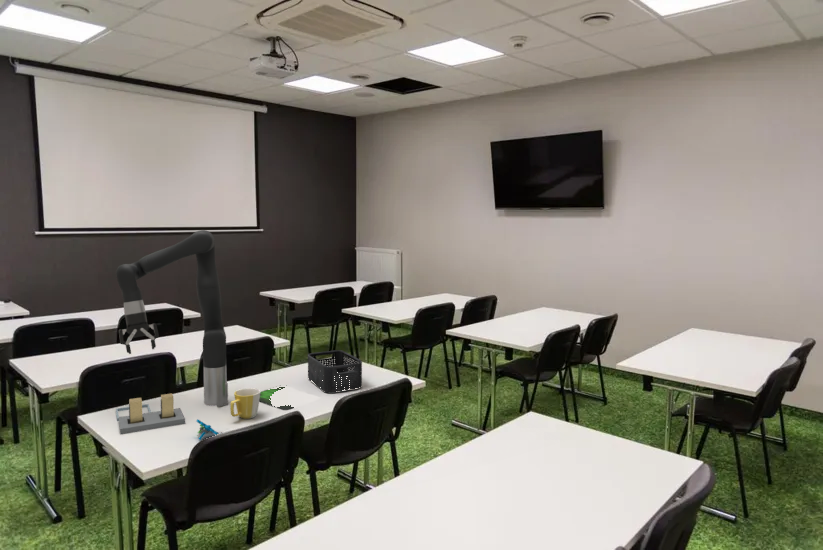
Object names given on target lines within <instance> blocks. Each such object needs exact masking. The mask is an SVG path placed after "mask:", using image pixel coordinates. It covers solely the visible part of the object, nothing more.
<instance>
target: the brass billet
mask: <svg viewBox="0 0 823 550" xmlns="http://www.w3.org/2000/svg"><path fill="white" fill-rule="evenodd" d="M128 402H129V403H128V407H129V410H128V416H129V420H130V424H133V423H139V422H143V420H142V414H143V408H142V405H143V400H142V397H136V398H135V397H134V398H129V400H128Z"/></svg>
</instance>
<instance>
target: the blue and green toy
mask: <svg viewBox="0 0 823 550" xmlns="http://www.w3.org/2000/svg"><path fill="white" fill-rule="evenodd" d="M196 422H197V423H198V424H199V430H198V432H197V435H196V436H199V434H200V433H201V432H202V433H201V434H200V436H199V437H198V438H197V440H199V441H201V440H202V439H203V438H204V436H205V435H206V434H208V433H209V432H211V433H213V435H216V436H217V434H220V433H219V432H218V431H216V430H215V429H213V428H212V425H210V424H206V423H205V422H203V421H201V420H200V419H196Z"/></svg>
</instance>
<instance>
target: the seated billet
mask: <svg viewBox="0 0 823 550" xmlns="http://www.w3.org/2000/svg"><path fill="white" fill-rule="evenodd" d="M174 407H175V406H174V395H173V393H167V394H166V393H164V394H160V411H161V419H164V418H171V417H174V409H175V408H174Z"/></svg>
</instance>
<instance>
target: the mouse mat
mask: <svg viewBox="0 0 823 550" xmlns="http://www.w3.org/2000/svg"><path fill="white" fill-rule="evenodd" d="M279 388H281V389H283V388H285V387H279ZM279 388H277V389H271V388H269V389H270V390H268V389H264V390H262V391H261V390H260V391H261V392H260V399H259V403H261V404H264V405H267V406H270V405H271V406H270V407H273V406H272V404H271V401H270V400H271V398H270V396H272V394H274V392H276V391H278V390H281V389H279ZM269 399H270V400H269ZM273 408H276V407H275V406H274V407H273ZM276 409H279V410H282V411H291V410H293V409H295V408H294V407H291V405H290V406H289V405H288V406H286V405H285V406H280V407H277V408H276Z"/></svg>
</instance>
